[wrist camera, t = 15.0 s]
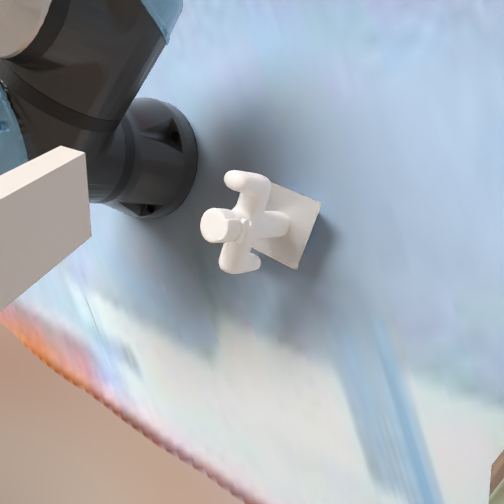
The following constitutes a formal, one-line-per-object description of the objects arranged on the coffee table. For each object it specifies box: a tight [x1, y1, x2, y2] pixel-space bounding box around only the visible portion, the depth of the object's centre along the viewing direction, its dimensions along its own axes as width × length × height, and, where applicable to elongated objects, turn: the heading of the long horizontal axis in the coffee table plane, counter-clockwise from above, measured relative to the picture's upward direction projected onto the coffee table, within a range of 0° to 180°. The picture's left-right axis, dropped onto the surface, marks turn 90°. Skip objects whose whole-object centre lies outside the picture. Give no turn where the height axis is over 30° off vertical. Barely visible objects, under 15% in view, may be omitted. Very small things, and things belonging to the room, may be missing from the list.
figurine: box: [200, 170, 322, 274], centre depth 41 cm, size 7×9×15 cm
